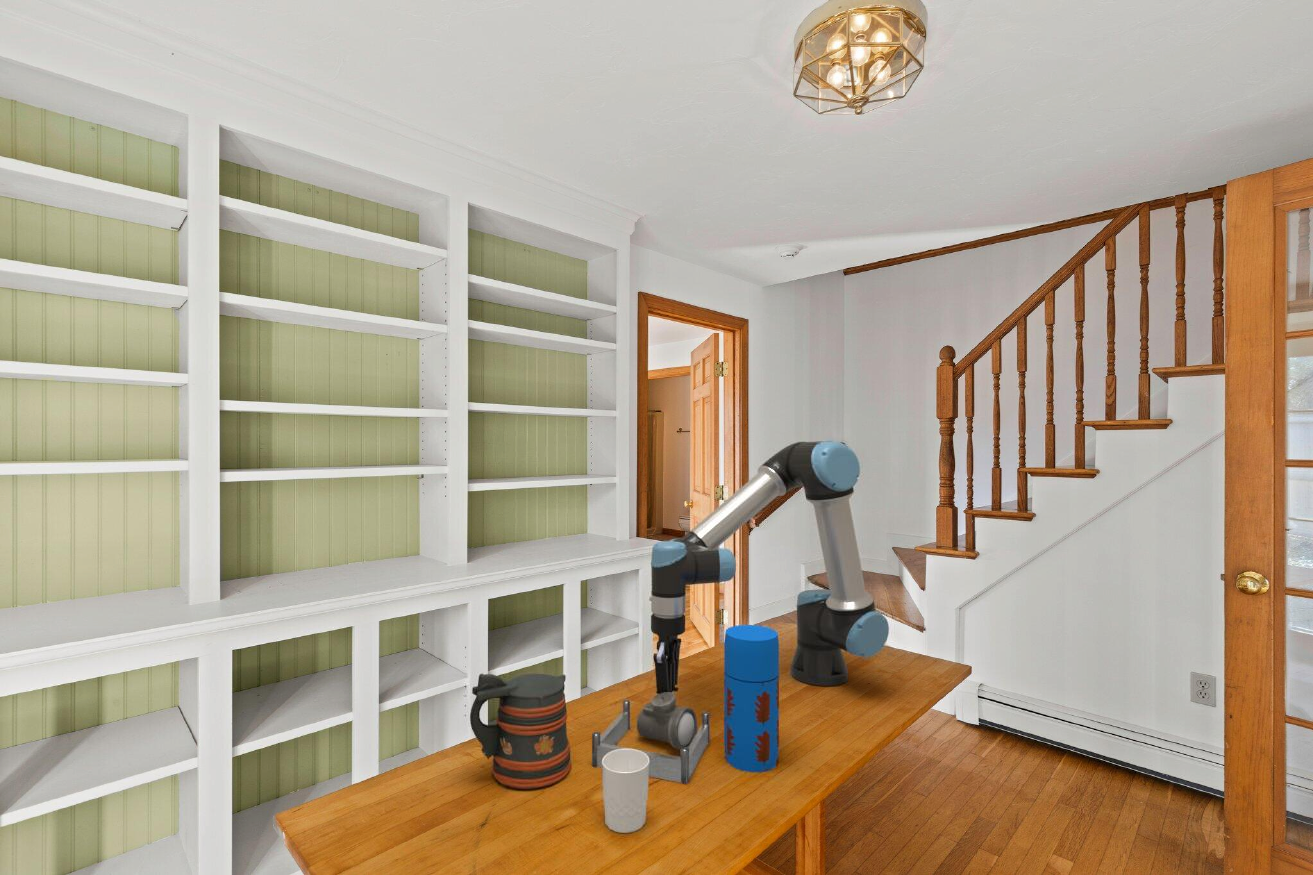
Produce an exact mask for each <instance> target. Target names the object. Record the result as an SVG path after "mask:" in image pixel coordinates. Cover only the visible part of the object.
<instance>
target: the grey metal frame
mask: <svg viewBox="0 0 1313 875" xmlns="http://www.w3.org/2000/svg"><path fill="white" fill-rule="evenodd" d="M710 714H711V713H710V712H709V711H703V712H702V713H701V725H700V727H699V729H697V734H696V735H695V737H694V739H693V741H692V742H691V744H690V746H689V747H681V749H680V750H679V752H680V753H679V754H680V755H679V756H676V755H669V754H663V753H659V752H652V751H646V750H641V749H638V748H637V749H636V750H639V751H642V752H644V753H645V754H646V755H647V756H648V757H649V778H655V779H659V780H660V779H661V780H666V781H672V782H675V783H680V784H682V785H683V784H684V785H687V784H689V783H690V778H691V776H693V775H692V774H693V772H694V771H695V769H696V767H697V765H698V764H699V761H700V760H701V757H702V756H703V754H704V752H705V751H706V748H707V746H708V745H709V744H710V741H711V740H710V739H711V738H710V737H711V736H710V733H711V732H710V730H711V729H710V724H711V723H710V722H711V721H710V719H711V715H710ZM630 729H631V701H630V700H629V699H624V700H623V701H622V712H621V713H620V714H619V715H617V717H616V718H615V719H614V720H613V721H612V722H611V723H610V724H609V725H608V726H607V728H606V729H605V730H604V731H603V732H602V733H601V732H600V731H593V732H592V733H591V766H592V767H595V768H597V767H598V768H602V759H603V757H604V756H605V755H606V754H607V753H609V752H611V751H614V750H618V749H632V748H631V747H625V746H618V745H617V744H618V743H619V742H620V740H621V739H622V737H624V736H625V735H626V733H627V732H628V731H629V730H630Z"/></svg>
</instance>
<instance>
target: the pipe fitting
mask: <svg viewBox="0 0 1313 875" xmlns="http://www.w3.org/2000/svg"><path fill="white" fill-rule="evenodd" d="M676 702H677V698H676V696H675V693H674V694H673V693H671V692H664V693H660V694H656V695H654V697H652V699H651V702H647V703H646V704H644V705H643V708H642V709H641V710H640V711H639V713H638V716H637V719H636V729H637V732H638V734H639V736H641V737H643V738H646V739H653V740H656V741H662V742H668V743H670V745H671V746H672V747H673V748H674V749H676V750H678V751H680V749H681V747H689V746H690V744H691V742H692V741H693V739H694V737H695V735H696V734H697V732H698V728H699V727H698V725H699V724H698V718H697V715H696V712H695V711H694V709H693V708H691V707H687V706H679V707H677V703H676Z"/></svg>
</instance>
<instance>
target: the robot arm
mask: <svg viewBox="0 0 1313 875" xmlns="http://www.w3.org/2000/svg"><path fill="white" fill-rule="evenodd" d="M860 472H861V466H860V461H859V459H858V456H857V454H856V453H855V452H854V450H853V449H852V448H851V447H849V446H848V445H846V444H845V443H841V442H838V441H837V442H836V441H831V440H825V441H822V440H820V441H797V442H793V443H791V444H789V445H787V446H785V447H784V448H782V449H781V450H779V451H777V452H776V453H775V454H774V455H773V456H771V457H770V458H768V459H767V460H766V461H765V462H764V463H762V465H760V466H759V467H758V468H757V473H756V474H755V475H754V476H753V477H752V478H750V480H748V481H747V482H746V483H745V484H743V486H741V487H740V488H739V489H737V491H736V492H734V493H733V494H732V495H731V496H729V497H728V498H727V499H726V500H725V501H723V503H721V504H720V505H719V506H717V508H715V509H714V510H713V511H712V512H711V513H710V514H708V515H707V516H706V517H705V518H704V519H702V520H701V521H700V522H698V523H697V525H696V526H694V527H693V528H692V529H690V530H689V532H687V533H686V534H685V535H683V536H682V537H681V538H672V539H670V540H666V541H665V540H664V541H659V542H656V543H654V544H653V546H652V549H651V561H650V566H651V574H650V575H651V591H650V592H651V594H650V595H651V596H650V597H649V601H650V602H651V604H650V606H651V608H650V609H651V613H652V614H651V615H650V631H651V632H652V633H653V634H654V635H656V636H658V638H657V640H658V641H657V642H656V651H657V653H653V655H652V658H653V662H654V663H653V664H654V672H655V683H656V691H655V693H656V695H658V694H660V693H664V692H671V693H673V694H674V695H675V692H678V691H679V687H676V686H677V685H678V679H679V666H680V665H679V664H680V652H681V651H680V650H681V644H682V639H681V638H680V637H679V638H678V636H680V635H682V634H684V633H685V632H686V615H685V613H686V609H687V608H686V603H687V602H686V594H687V592H686V590H687V589H686V588H687V586H688V585H689V586H691V585H703V584H706V585H707V584H716V583H717V584H720V583H723V582H729V581H731V580H733V578H734V577H735V575H736V571H737V562H736V558H735V555H734V553H733V551H731V550H730V549H729V548H727V547H726V548H725V547H724V548H723V547H722V548H720V546H721V545H722V544H723V543H725V541H726V540H728V539H729V538H730V537H731V536H732V535H733V534H735V533H736V532H737V531H738V530H740V528H742V527H743V526H744V525H745V524H746V523H747V522H749V521H750V520H751V519H752V518H753V517H754V516H755V515H757V514H758V513H759V512H760V511H761V510H762V509H764V507H766V506H767V505H768V504H769V503H771V501H773V500H774V499H775V498H776V497H777V496H779V497H782V496H785V494H787V493H788V492H789V491H791V490H793V489H795V488H799V487H801V488H802V487H803V489H804V494H805V498H806V500H807V501H808V502H809V503H810V504H812V505H813V509H814V514H815V518H816V524H817V529H818V535H819V541H820V546H821V551H822V556H823V562H824V569H825V572H826V577H827V582H828V583H827V584H828V589H808V590H802V591H801V592H799V593H798V594H797V602H796V632H797V633H796V634H797V636H796V637H797V638H796V643H797V644H796V647H795V651H794V654H793V656H792V660H791V663H790V675H791V677H793V679H795V680H797V681H798V682H801V681H802V682H801V683H805V684H807V685H812V686H819V687H820V686H821V687H834V686H840V685H842V684H845V683H847V681H849V669H848V666H847V663H846V660H845V657H844V654H843V651H845V652H847V653H849V654H850V655H851V656H857V657H859V658H863V659H864V658H865V659H866V658H867V659H868V658H871V657H873V656H876V655H877V654H878V653H879V652H881V651H882V650H883V647H884V645H885V644H886V643H887V641H888V637H889V633H890V632H889V630H890V626H889V621H888V620H887V618H886V616H885V615H883V614H882V613H881V612H878V611H877V610H876V605H875V600H874V597H873V595H872V594H870V593H869V592H867V590H866V587H865V580H864V576H863V569H862V565H861V564H862V562H861V559H860V554H859V547H858V542H857V538H856V531H855V525H854V520H853V515H852V509H851V504H850V499H851V497H852V496H853V495H854V493H855V489H854V487H855V485H856V484H857V483H858V480H859V479H858V477H860ZM842 650H843V651H842Z"/></svg>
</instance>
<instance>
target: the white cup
mask: <svg viewBox="0 0 1313 875" xmlns="http://www.w3.org/2000/svg"><path fill="white" fill-rule="evenodd" d="M639 750H640V749H637V750H636V749H635V748H631V749H618V750H614V751H611V752H609V753H607V754H606V755H605V756H604V757H603V759H602V767H601V771H602V792H603V793H602V797H603V799H602V800H603V807H604V823H605V825H606V827H608V829H610V830H611V831H612V832H613V831H614V832H615V833H620V834H622V833H623V834H628V833H635V832H636V831H638V830H640V829H642V828H643V826H644V825H645V823H646V819H647V816H646V815H647V804H648V796H649V795H648V793H649V779H650V777H649V757H648V756H647V755H646V754H645V753H644V752H642V751H643V750H642V751H639Z"/></svg>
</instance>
